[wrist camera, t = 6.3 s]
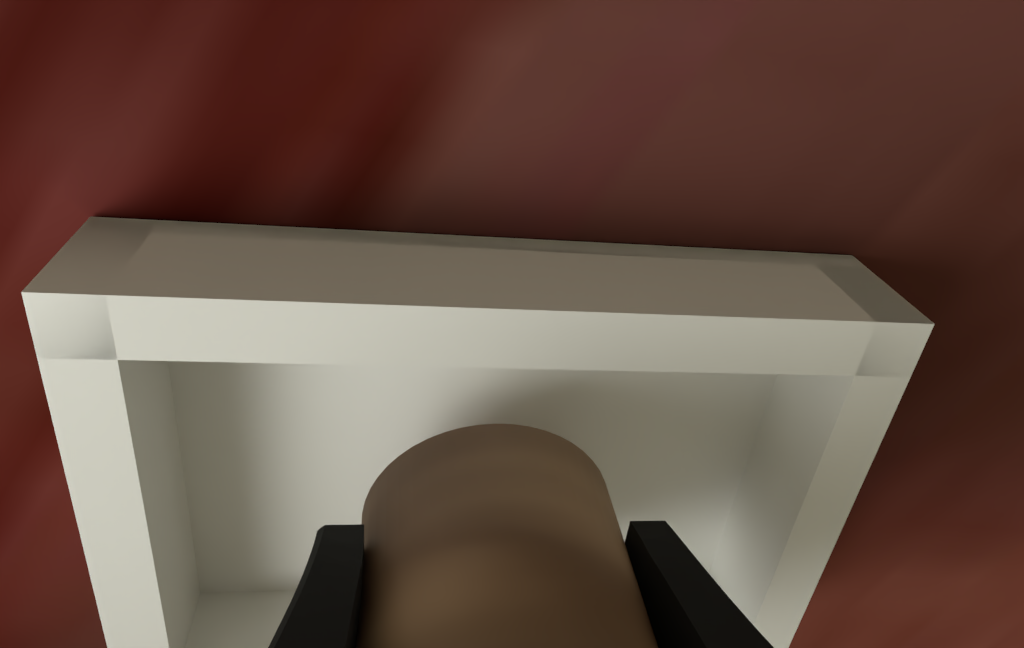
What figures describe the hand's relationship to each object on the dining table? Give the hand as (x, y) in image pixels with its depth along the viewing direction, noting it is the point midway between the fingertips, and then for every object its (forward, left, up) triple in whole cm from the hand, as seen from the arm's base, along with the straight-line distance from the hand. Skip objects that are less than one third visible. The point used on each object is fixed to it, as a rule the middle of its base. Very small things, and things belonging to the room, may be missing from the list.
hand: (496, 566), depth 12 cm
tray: (0, 0, -3) cm, 3 cm away
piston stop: (0, 0, -1) cm, 1 cm away
